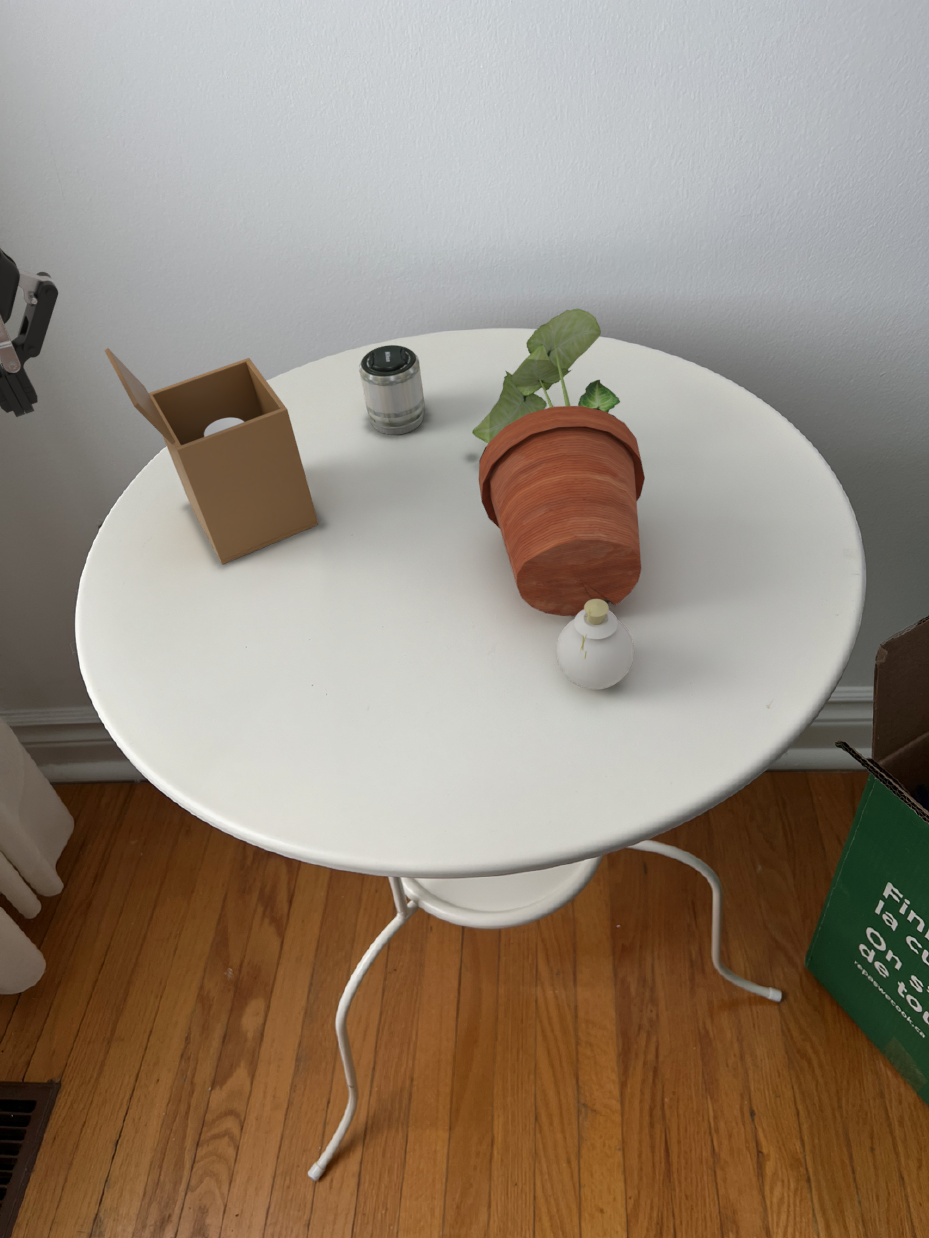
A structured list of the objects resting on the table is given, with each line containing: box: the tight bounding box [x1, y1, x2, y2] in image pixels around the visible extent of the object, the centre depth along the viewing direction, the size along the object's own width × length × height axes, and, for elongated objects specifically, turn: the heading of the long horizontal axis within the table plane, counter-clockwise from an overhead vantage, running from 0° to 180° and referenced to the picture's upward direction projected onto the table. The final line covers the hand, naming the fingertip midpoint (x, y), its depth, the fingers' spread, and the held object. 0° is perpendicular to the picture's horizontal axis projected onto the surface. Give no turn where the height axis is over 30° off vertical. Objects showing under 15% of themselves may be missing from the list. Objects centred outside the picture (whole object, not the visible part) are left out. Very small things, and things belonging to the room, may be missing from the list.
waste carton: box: [148, 357, 319, 565], centre depth 86 cm, size 10×10×14 cm
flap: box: [104, 347, 175, 445], centre depth 78 cm, size 5×10×1 cm
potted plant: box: [471, 308, 646, 617], centre depth 84 cm, size 16×15×35 cm
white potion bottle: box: [555, 599, 635, 690], centre depth 70 cm, size 6×7×10 cm
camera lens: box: [358, 344, 425, 436], centre depth 97 cm, size 6×6×8 cm
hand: (23, 409), depth 74 cm, fingers closed
